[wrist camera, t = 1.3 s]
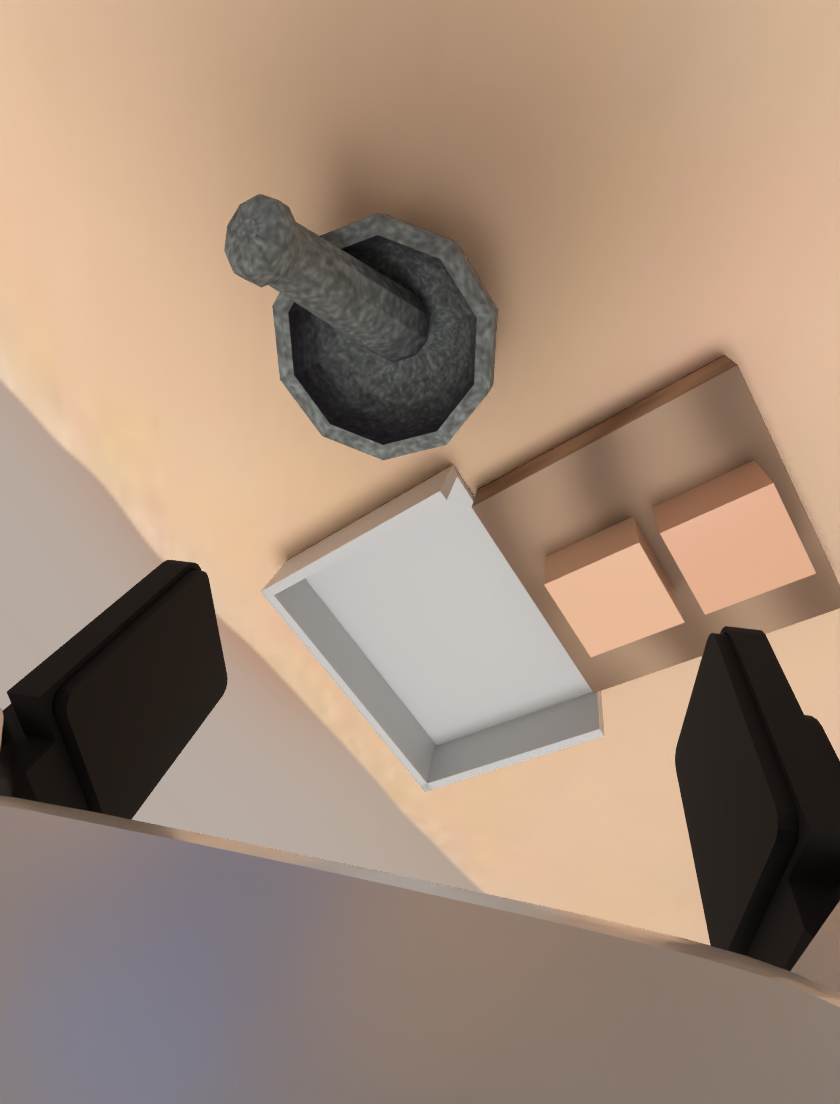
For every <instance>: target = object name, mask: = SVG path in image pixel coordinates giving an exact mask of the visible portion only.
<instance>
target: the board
mask: <svg viewBox="0 0 840 1104" xmlns="http://www.w3.org/2000/svg"><path fill="white" fill-rule="evenodd" d="M753 460H755V461H756V462H757V464H758V465H759V466H760V467H761V469H762V470H763V471H764V472H765V473H766V475H767V476H768V477H769V478H770V479H771V481H772V482H773V483H774V485H775V487H776V489H777V492H778V494H779V496H780V498H781V500H782V502H783V504H784V506H785V508H786V511H787V513H788V515H789V517H790V519H791V521H792V523H793V525H794V527H795V530H796V532H797V534H798V536H799V538H800V540H801V542H802V544H803V546H804V549H805V551H806V553H807V555H808V557H809V559H810V561H811V563H812V565H813V567H814V570H815V572H816V574H813V575H811V576H808V577H805V578H803V579H800V580H797V581H795V582H792V583H789V584H786V585H784V586H781V587H778V588H776V589H773V590H770V591H768V592H765V593H762V594H760V595H757V596H754V597H752V598H749V599H746V600H744V601H741V602H738V603H736V604H733V605H730V606H728V607H725V608H722V609H719V610H717V611H714V612H711V613H709V614H706V615H705V614H704V612H703V610H702V608H701V607H700V605H699V603H698V601H697V599H696V598H695V596H694V594H693V592H692V590H691V589H690V587H689V585H688V583H687V581H686V580H685V578H684V576H683V574H682V573H681V571H680V569H679V567H678V565H677V564H676V562H675V560H674V558H673V556H672V555H671V553H670V551H669V549H668V547H667V546H666V544H665V542H664V540H663V538H662V537H661V535H660V533H659V529H658V526H657V523H656V520H655V516H654V513H653V510H652V507H654V506H657V505H659V504H661V503H663V502H665V501H667V500H669V499H672V498H674V497H676V496H678V495H680V494H682V493H685V492H687V491H689V490H691V489H693V488H695V487H697V486H700V485H702V484H704V483H706V482H708V481H710V480H713V479H715V478H717V477H719V476H721V475H723V474H725V473H728V472H730V471H732V470H734V469H736V468H738V467H741V466H743V465H745V464H747V463H749V462H751V461H753ZM472 509H473V510H474V512H475V513H476V515H477V516H478V518H479V519H480V521H481V523H482V524H483V526H484V527H485V529H486V530H487V532H488V533H489V535H490V536H491V538H492V539H493V541H494V542H495V544H496V545H497V547H498V548H499V550H500V551H501V553H502V554H503V556H504V557H505V559H506V561H507V562H508V564H509V565H510V567H511V568H512V570H513V571H514V573H515V574H516V576H517V577H518V579H519V580H520V582H521V583H522V585H523V586H524V588H525V589H526V591H527V592H528V594H529V596H530V597H531V599H532V600H533V602H534V603H535V605H536V606H537V608H538V609H539V611H540V612H541V614H542V615H543V617H544V618H545V620H546V621H547V623H548V624H549V626H550V627H551V629H552V631H553V632H554V634H555V635H556V637H557V638H558V640H559V641H560V643H561V644H562V646H563V647H564V649H565V650H566V652H567V653H568V655H569V656H570V658H571V659H572V661H573V662H574V664H575V665H576V667H577V669H578V670H579V672H580V673H581V675H582V676H583V678H584V679H585V681H586V682H587V684H588V685H589V687H590V688H591V690H592V691H593V693H596V692H598V691H601V690H604V689H607V688H610V687H613V686H616V685H619V684H622V683H625V682H627V681H630V680H633V679H636V678H639V677H642V676H645V675H648V674H651V673H653V672H656V671H659V670H662V669H665V668H668V667H671V666H674V665H677V664H679V663H682V662H685V661H688V660H691V659H694V658H697V657H700V656H703V652H704V649H705V645H706V642H707V639H708V636H709V635H710V634H711V633H717V634H720V632H721V630H722V629H723V627H725V626H730V627H739V628H747V629H755V630H761V631H763V632H764V633H765V634H766V633H769V632H772V631H775V630H778V629H781V628H784V627H787V626H789V625H792V624H795V623H798V622H801V621H804V620H807V619H810V618H813V617H815V616H818V615H821V614H824V613H827V612H830V611H833V610H836V609H839V608H840V585H839V583H838V581H837V578H836V576H835V574H834V572H833V570H832V568H831V565H830V563H829V561H828V559H827V557H826V555H825V552H824V550H823V548H822V546H821V544H820V542H819V540H818V537H817V535H816V533H815V531H814V529H813V527H812V524H811V522H810V520H809V518H808V516H807V514H806V511H805V509H804V507H803V505H802V503H801V501H800V499H799V496H798V494H797V492H796V490H795V488H794V486H793V483H792V481H791V479H790V477H789V475H788V473H787V470H786V468H785V466H784V464H783V462H782V460H781V458H780V455H779V453H778V451H777V449H776V447H775V445H774V442H773V440H772V438H771V436H770V434H769V432H768V429H767V427H766V425H765V423H764V421H763V419H762V416H761V414H760V412H759V410H758V408H757V406H756V404H755V401H754V399H753V397H752V395H751V393H750V391H749V388H748V386H747V384H746V382H745V380H744V378H743V375H742V373H741V371H740V369H739V367H738V365H737V364H736V363H734V362H733V361H732V360H730V359H729V358H728V357H727V356H725V355H724V356H722V357H720V358H719V359H717V360H715V361H713V362H711V363H709V364H708V365H706V366H704V367H702V368H700V369H698V370H697V371H695V372H693V373H691V374H689V375H687V376H686V377H684V378H682V379H680V380H678V381H676V382H675V383H673V384H671V385H669V386H667V387H665V388H664V389H662V390H660V391H658V392H656V393H654V394H653V395H651V396H649V397H647V398H645V399H643V400H642V401H640V402H638V403H636V404H634V405H632V406H631V407H629V408H627V409H625V410H623V411H621V412H620V413H618V414H616V415H614V416H612V417H610V418H609V419H607V420H605V421H603V422H601V423H599V424H598V425H596V426H594V427H592V428H590V429H588V430H587V431H585V432H583V433H581V434H579V435H577V436H576V437H574V438H572V439H570V440H568V441H566V442H565V443H563V444H561V445H559V446H557V447H555V448H554V449H552V450H550V451H548V452H546V453H544V454H543V455H541V456H539V457H537V458H535V459H533V460H532V461H530V462H528V463H526V464H524V465H522V466H521V467H519V468H517V469H515V470H513V471H511V472H510V473H508V474H506V475H504V476H502V477H500V478H499V479H497V480H495V481H493V482H491V483H489V484H487V485H486V486H484V487H482V488H480V489H478V490H477V492H476V495H475V498H474V501H473V504H472ZM631 517H633V518H634V519H635V521H636V523H637V525H638V526H639V528H640V530H641V532H642V533H643V535H644V537H645V539H646V541H647V542H648V544H649V546H650V548H651V549H652V551H653V553H654V555H655V556H656V558H657V560H658V562H659V563H660V565H661V567H662V569H663V571H664V572H665V574H666V576H667V578H668V579H669V581H670V583H671V585H672V586H673V588H674V590H675V592H676V596H677V599H678V602H679V605H680V609H681V612H682V615H683V619H684V622H685V623H682V624H679V625H677V626H674V627H671V628H669V629H666V630H663V631H661V632H658V633H655V634H652V635H650V636H647V637H644V638H642V639H639V640H636V641H634V642H631V643H628V644H626V645H623V646H620V647H618V648H615V649H612V650H610V651H607V652H604V653H602V654H599V655H596V656H594V657H590V655H589V654H588V652H587V651H586V649H585V648H584V646H583V644H582V643H581V641H580V640H579V638H578V637H577V635H576V634H575V632H574V630H573V629H572V627H571V626H570V624H569V623H568V621H567V620H566V618H565V617H564V615H563V613H562V612H561V610H560V609H559V607H558V606H557V604H556V603H555V601H554V599H553V598H552V596H551V595H550V593H549V592H548V590H547V589H546V587H545V585H544V577H545V560H546V557H547V556H549V555H551V554H553V553H555V552H557V551H560V550H562V549H564V548H566V547H568V546H570V545H573V544H575V543H577V542H579V541H581V540H583V539H585V538H588V537H590V536H592V535H594V534H596V533H598V532H601V531H603V530H605V529H607V528H609V527H611V526H613V525H616V524H618V523H620V522H622V521H624V520H626V519H629V518H631Z"/></svg>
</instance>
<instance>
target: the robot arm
mask: <svg viewBox="0 0 840 1104" xmlns="http://www.w3.org/2000/svg"><path fill="white" fill-rule="evenodd" d="M226 686H227V672H226V667H225V662H224V657H223V651H222V646H221V641H220V636H219V631H218V625H217V620H216V615H215V609H214V604H213V599H212V594H211V588H210V583H209V578H208V575H207V574H206V572H204V571H201V568H200V567H199V565H198V564H196V563H192V562H183V561H175V560H166V561H165V562H163V563H162V564H160V565H159V566H158V567H157V568H156V569H154V570H153V571H152V572H151V573H150V574H148V575H147V576H146V577H145V578H143V579H142V580H141V581H140V582H139V583H137V584H136V585H135V586H134V587H133V588H131V589H130V590H129V591H128V592H127V593H125V594H124V595H123V596H122V597H121V598H120V599H118V600H117V601H116V602H115V603H113V604H112V605H111V606H110V607H109V608H107V609H106V610H105V611H104V612H102V614H100V615H99V616H98V617H96V618H95V619H94V620H93V621H92V622H90V623H89V624H88V625H87V626H86V627H84V628H83V629H82V630H81V631H80V632H78V633H77V634H76V635H75V636H74V637H72V638H71V639H70V640H69V641H68V642H66V643H65V644H64V645H63V646H61V647H60V648H59V649H58V650H57V651H55V652H54V653H53V654H52V655H51V656H49V657H48V658H47V659H46V660H45V661H43V662H42V663H41V664H40V665H39V666H37V667H36V668H35V669H34V670H33V671H31V672H30V673H29V674H28V675H27V676H25V677H24V678H23V679H22V680H20V681H19V682H18V683H17V684H16V685H14V686H13V687H12V688H11V689H10V690H8V691H7V694H8V696H9V698H10V701H11V704H10V705H9V706H8V707H7V708H6V709H4V710H3V711H2V709H1V708H0V1104H840V761H839V759H838V757H837V755H836V753H835V751H834V749H833V747H832V745H831V743H830V741H829V739H828V737H827V735H826V733H825V731H824V729H823V727H822V726H821V724H820V723H819V722H818V720H817V719H815V718H814V717H812V716H808V715H804V714H803V712H802V710H801V708H800V706H799V703H798V701H797V699H796V697H795V695H794V693H793V691H792V689H791V687H790V685H789V683H788V681H787V679H786V676H785V674H784V672H783V670H782V668H781V666H780V664H779V662H778V660H777V658H776V656H775V654H774V652H773V649H772V647H771V645H770V643H769V641H768V639H767V637H766V635H765V633H764V632H763V631H761V630H755V629H747V628H739V627H730V626H725V627H723V629H722V630H721V632H720V634H717V633H711V634H710V635H709V636H708V639H707V642H706V645H705V649H704V652H703V656H702V659H701V663H700V666H699V670H698V673H697V677H696V680H695V684H694V687H693V691H692V694H691V698H690V701H689V705H688V708H687V712H686V715H685V719H684V722H683V726H682V729H681V733H680V736H679V740H678V743H677V748H676V754H675V766H676V772H677V777H678V782H679V787H680V792H681V797H682V802H683V807H684V812H685V817H686V823H687V828H688V833H689V838H690V843H691V848H692V853H693V858H694V863H695V868H696V873H697V878H698V883H699V888H700V893H701V898H702V904H703V909H704V914H705V919H706V924H707V929H708V934H709V939H710V944H711V946H709V945H705V944H702V943H698V942H694V941H691V940H687V939H684V938H679V937H675V936H671V935H666V934H662V933H658V932H653V931H649V930H645V929H641V928H636V927H632V926H628V925H623V924H619V923H615V922H610V921H606V920H602V919H598V918H593V917H589V916H585V915H580V914H576V913H572V912H567V911H563V910H558V909H553V908H549V907H544V906H540V905H535V904H530V903H526V902H521V901H516V900H512V899H507V898H502V897H498V896H493V895H489V894H484V893H479V892H475V891H469V890H465V889H461V888H456V887H451V886H447V885H442V884H438V883H433V882H428V881H423V880H419V879H414V878H409V877H405V876H400V875H395V874H390V873H386V872H381V871H377V870H372V869H367V868H362V867H358V866H353V865H348V864H343V863H338V862H334V861H329V860H324V859H320V858H315V857H309V856H305V855H300V854H295V853H291V852H286V851H281V850H277V849H272V848H267V847H262V846H257V845H253V844H248V843H243V842H238V841H233V840H229V839H224V838H219V837H214V836H209V835H204V834H199V833H194V832H189V831H185V830H180V829H175V828H170V827H165V826H160V825H155V824H150V823H145V822H140V821H135V820H131V819H132V818H133V816H134V815H135V814H136V812H137V811H138V810H139V808H140V807H141V806H142V804H143V803H144V802H145V800H146V799H147V797H148V796H149V795H150V793H151V792H152V791H153V789H154V788H155V787H156V785H157V784H158V783H159V781H160V780H161V778H162V777H163V776H164V774H165V773H166V771H167V770H168V769H169V768H170V766H171V765H172V764H173V762H174V761H175V760H176V758H177V757H178V755H179V754H180V753H181V751H182V750H183V749H184V747H185V746H186V744H187V743H188V742H189V740H190V739H191V738H192V736H193V735H194V734H195V732H196V731H197V730H198V728H199V727H200V726H201V724H202V723H203V722H204V720H205V719H206V717H207V716H208V715H209V713H210V712H211V711H212V709H213V708H214V707H215V705H216V704H217V703H218V701H219V700H220V698H221V697H222V696H223V694H224V692H225V690H226Z"/></svg>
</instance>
